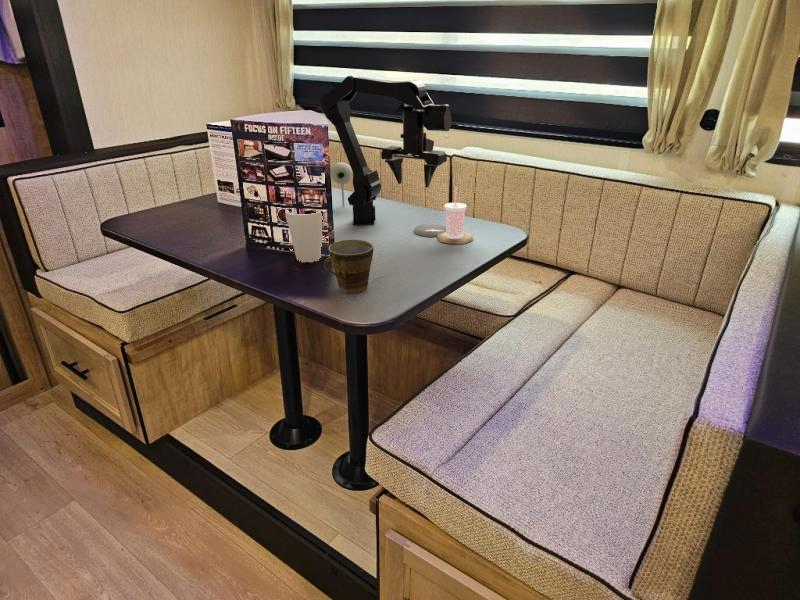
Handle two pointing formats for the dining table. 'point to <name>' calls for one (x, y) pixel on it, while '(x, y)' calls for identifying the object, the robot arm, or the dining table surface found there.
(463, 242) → the shiny gold rounded object
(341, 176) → the lollipop
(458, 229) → the beverage cup
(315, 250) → the foam cup
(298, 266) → the dining table surface
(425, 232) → the grey dome cap
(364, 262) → the ceramic cup
